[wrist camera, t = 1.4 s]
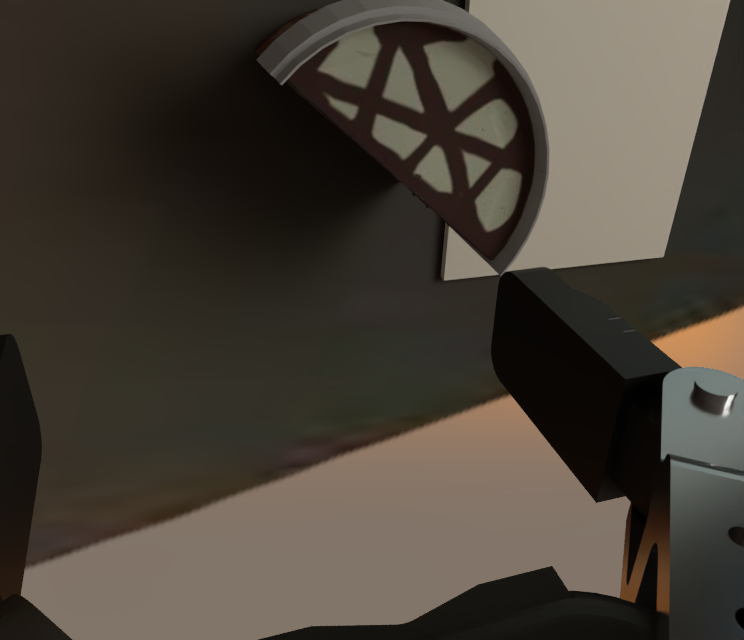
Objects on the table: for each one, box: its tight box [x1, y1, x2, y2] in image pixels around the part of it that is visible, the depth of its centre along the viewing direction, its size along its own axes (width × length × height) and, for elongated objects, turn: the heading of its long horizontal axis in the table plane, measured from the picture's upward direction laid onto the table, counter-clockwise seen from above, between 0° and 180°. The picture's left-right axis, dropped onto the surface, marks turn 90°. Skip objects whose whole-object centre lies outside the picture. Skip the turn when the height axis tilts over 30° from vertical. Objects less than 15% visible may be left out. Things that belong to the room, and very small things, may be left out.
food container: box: [256, 0, 550, 276], centre depth 28 cm, size 12×6×10 cm, turn 47°
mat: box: [441, 0, 730, 280], centre depth 35 cm, size 14×22×1 cm, turn 178°
